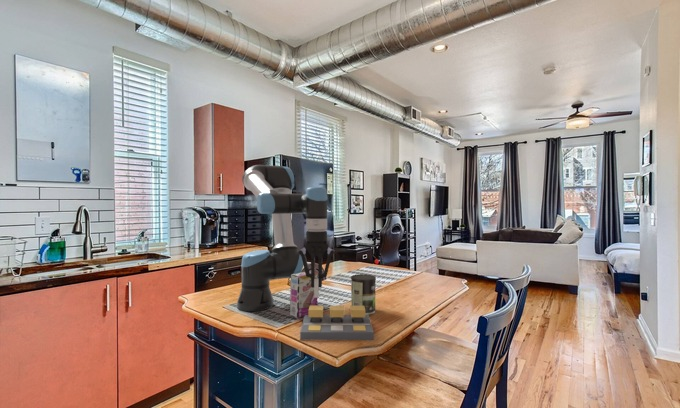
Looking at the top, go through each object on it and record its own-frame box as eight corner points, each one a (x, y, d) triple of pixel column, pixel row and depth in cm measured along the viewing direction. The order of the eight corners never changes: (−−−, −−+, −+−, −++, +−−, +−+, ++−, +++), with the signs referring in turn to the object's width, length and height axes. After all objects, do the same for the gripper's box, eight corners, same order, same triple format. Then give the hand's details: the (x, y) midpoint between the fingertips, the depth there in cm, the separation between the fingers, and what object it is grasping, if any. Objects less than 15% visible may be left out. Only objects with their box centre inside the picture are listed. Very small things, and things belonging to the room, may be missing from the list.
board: (300, 339, 103) (300, 331, 103) (304, 321, 119) (304, 314, 119) (373, 339, 103) (373, 331, 103) (368, 321, 119) (368, 314, 119)
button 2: (329, 323, 111) (329, 310, 111) (330, 318, 116) (330, 305, 116) (344, 323, 111) (344, 310, 111) (343, 318, 116) (343, 305, 116)
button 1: (308, 323, 111) (308, 310, 111) (309, 318, 116) (309, 305, 116) (322, 323, 111) (322, 310, 111) (323, 318, 116) (323, 305, 116)
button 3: (351, 323, 111) (351, 310, 111) (350, 318, 116) (350, 305, 116) (365, 323, 111) (365, 310, 111) (364, 318, 116) (364, 305, 116)
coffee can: (376, 307, 135) (376, 274, 135) (374, 316, 125) (374, 280, 125) (352, 305, 138) (353, 273, 137) (348, 314, 127) (348, 279, 127)
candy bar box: (298, 319, 121) (298, 276, 121) (289, 316, 124) (289, 274, 124) (318, 311, 130) (318, 271, 130) (309, 309, 133) (309, 270, 133)
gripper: (297, 231, 110) (297, 299, 109) (334, 231, 110) (334, 299, 110) (299, 229, 117) (299, 293, 117) (334, 229, 117) (334, 293, 117)
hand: (316, 296), depth 113 cm, fingers closed
